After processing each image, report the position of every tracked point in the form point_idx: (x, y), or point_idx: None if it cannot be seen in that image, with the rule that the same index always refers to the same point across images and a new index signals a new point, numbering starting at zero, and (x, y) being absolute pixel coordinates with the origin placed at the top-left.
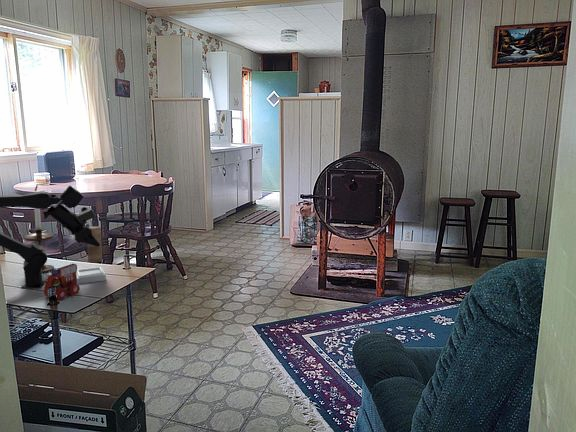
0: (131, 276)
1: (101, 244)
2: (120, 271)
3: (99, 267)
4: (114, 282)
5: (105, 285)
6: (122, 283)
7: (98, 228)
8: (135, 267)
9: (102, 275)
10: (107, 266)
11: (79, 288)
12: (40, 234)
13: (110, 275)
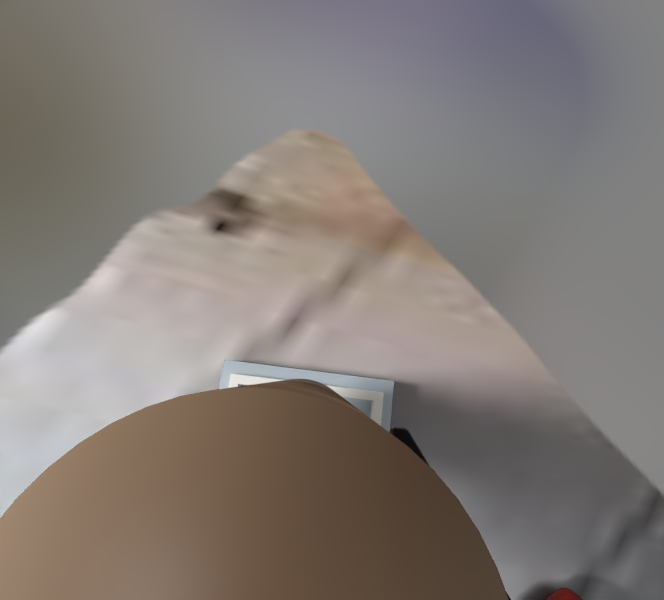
0: (393, 240)
1: (320, 385)
2: (267, 262)
3: (246, 383)
4: (451, 349)
5: (480, 407)
6: (489, 317)
7: (446, 528)
8: (241, 170)
9: (392, 400)
10: (117, 298)
11: (577, 596)
12: None
13: (312, 333)
